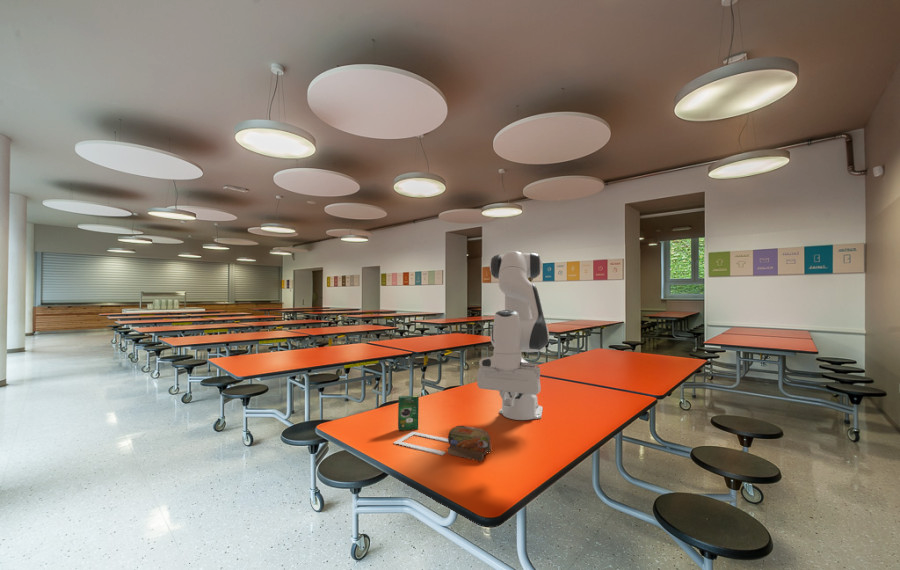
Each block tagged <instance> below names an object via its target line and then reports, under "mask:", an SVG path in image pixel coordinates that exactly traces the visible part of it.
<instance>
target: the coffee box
mask: <svg viewBox="0 0 900 570" xmlns="http://www.w3.org/2000/svg"><path fill="white" fill-rule="evenodd" d="M419 398H420V397H419V395H417V394H416V395H401V396H400V395H399V396H398V399H397V400H398V402H397V403H398V405H397V406H398V407H397V408H398V410H397V430H398V429H399V430H406V431H412V429H416V430H419V402H420V401H419ZM399 430H398V431H399Z"/></svg>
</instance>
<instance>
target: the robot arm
mask: <svg viewBox="0 0 900 570" xmlns="http://www.w3.org/2000/svg"><path fill="white" fill-rule="evenodd" d="M542 269H543V261H542V258H541V256H540V255H539V254H538V253H534V252H530V253H529V252H520V251H517V250H516V251H515V250H511V251H508V252H506V253H505V254H504V253H503V254H496V255H493V257H491V260H490V262H489V271H490V273H491V276H492V277H493V278H495V279H498V287H499V289H500V290H501V292H502V293H503V294H504V310H498V311H496V312H495V314H494V317H493V325H492V327H491V334H490V342H491V345H492V346H493V351H492V352H493V355H490V356H488V357H484V358H482V359H479V361H478V364H479V368H478V370H477V374H476V375H477V376H476V385H477V387H478V389H481V390H489V391H498V392H499V396H500V398H501V400H502V402H501V408H500V409H499V410H498V413H499V414H502V415H503V417H505V418H507V419H510V420H516V421H529V420H535V419H536V420H538V419H542V416H543V409H544V408H543V406H542V405H539V404H538V396H537V395H539V393H540V392H541V390H542V389H541V388H542V387H541V380H540V379H541V378H540V377H541V368H540V366H538V365H537V364H536V363H533V362H531V363H529V361H527V360H526V359H524V358H523V357H522V353H523V352H524V353H535V352H536V353H537V352H541V351H543V350H544V348H545V347H547V345H548V344H549V342H550V341H549V340H550V330H549V327H548V325H547V323H546V320H545V316H544V311H543V308H542V304H541V299H540V295H539V292H538V289H537V287H536V285H535V284H534V283H532V282H533V280H534V279H535V278H537V277H538V276H539V275H540V274H541V272H542ZM529 278H530V280H531V281H532V282H531V281H530V280H529Z"/></svg>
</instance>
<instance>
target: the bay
mask: <svg viewBox="0 0 900 570" xmlns="http://www.w3.org/2000/svg"><path fill="white" fill-rule="evenodd" d="M413 435H414V436H415V435H417V437H420V436H421V438H425V437H426V439H429V438H430V439H431V440H434V439H435V441H440V442H444V443H448V444H449V442H448V437H441V436H436V435H431V434H426V433H421V432H417V431H411V432H409V433H408V434H406V435H404V436H402V437H400V438H399V439H396V441H394V442H393V443H394V444H393V445H396V444H399V445H398V446H400V445H402V446H401V447H404V446H406V447H405V448H409V447H410V448H409V449H413V450H416V451H417V450H418V451H422V452H425V453H430V454H435V455H439V456H444V455H445V454H447V453H446V451H444V450H439V449H435V448H430V447H427V446H426V447H425V446H421V445H417V444H413V443H408V442H405V441H406V439H407V440H409V439H410V438H411V436H412V437H414V436H413ZM409 437H410V438H409ZM408 438H409V439H408ZM404 440H405V441H404ZM402 441H403V442H402Z"/></svg>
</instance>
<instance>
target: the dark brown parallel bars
mask: <svg viewBox="0 0 900 570" xmlns="http://www.w3.org/2000/svg"><path fill="white" fill-rule="evenodd" d="M490 451H491V452H492V447H491V448H490V450H489V451H488V453H487V454H490V453H491V452H490ZM489 452H490V453H489ZM447 455H451V456H455V457H459V458H463V457H464V458H463V459H467V458H469V460H472V459H474V460H473V461H476V460H478V461H477V462H480V461H481V462H482V461H483V460H484V457H485V455H484V456H483V453H482V452H478V451H473V450H469V449H464V448H459V447H455V446H450V445H449V446H448V447H447Z"/></svg>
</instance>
